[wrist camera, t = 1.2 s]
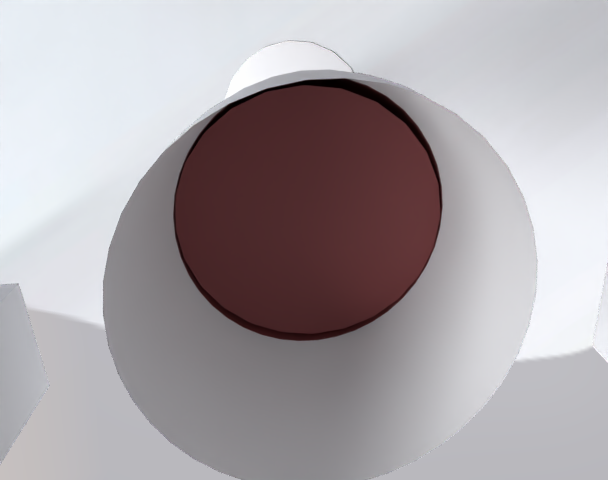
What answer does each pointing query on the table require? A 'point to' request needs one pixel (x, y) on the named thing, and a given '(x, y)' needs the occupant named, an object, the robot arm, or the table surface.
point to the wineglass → (319, 275)
